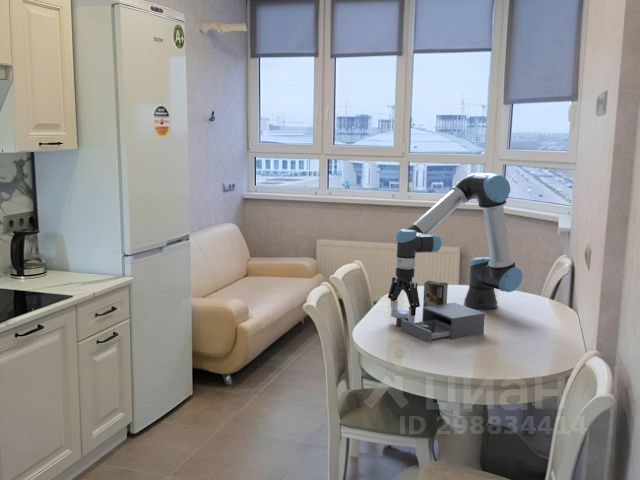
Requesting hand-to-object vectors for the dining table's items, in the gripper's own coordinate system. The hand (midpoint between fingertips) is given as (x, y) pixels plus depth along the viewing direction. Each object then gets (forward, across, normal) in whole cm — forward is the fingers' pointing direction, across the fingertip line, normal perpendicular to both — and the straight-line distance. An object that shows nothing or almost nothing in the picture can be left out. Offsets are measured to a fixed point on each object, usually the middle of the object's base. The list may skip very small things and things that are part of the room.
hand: (402, 319), depth 253 cm
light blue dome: (-1, -1, +1) cm, 2 cm away
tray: (+3, +13, +5) cm, 14 cm away
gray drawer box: (+3, +13, +16) cm, 21 cm away
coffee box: (+3, -3, +20) cm, 20 cm away
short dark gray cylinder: (+3, -1, +1) cm, 3 cm away
